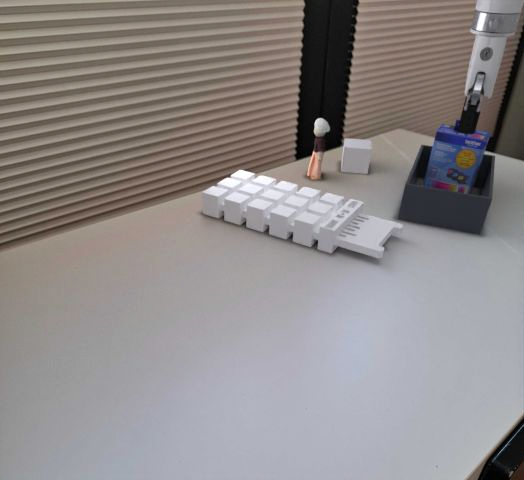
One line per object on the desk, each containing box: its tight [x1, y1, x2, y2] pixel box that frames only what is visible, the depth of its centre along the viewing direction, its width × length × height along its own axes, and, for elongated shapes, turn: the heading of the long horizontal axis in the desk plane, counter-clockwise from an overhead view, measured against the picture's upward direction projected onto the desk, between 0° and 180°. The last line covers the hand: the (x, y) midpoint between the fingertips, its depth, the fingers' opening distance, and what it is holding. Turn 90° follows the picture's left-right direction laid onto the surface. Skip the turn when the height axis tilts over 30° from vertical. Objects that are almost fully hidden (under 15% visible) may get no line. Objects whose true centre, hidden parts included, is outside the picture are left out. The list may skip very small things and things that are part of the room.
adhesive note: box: [340, 137, 373, 175], centre depth 115 cm, size 6×6×6 cm
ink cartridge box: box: [422, 119, 491, 194], centre depth 104 cm, size 10×6×14 cm, turn 61°
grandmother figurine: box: [306, 117, 331, 181], centre depth 108 cm, size 8×4×13 cm, turn 6°
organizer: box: [201, 169, 404, 259], centre depth 93 cm, size 13×5×35 cm
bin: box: [397, 144, 496, 236], centre depth 102 cm, size 23×15×8 cm, turn 159°
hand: (467, 125), depth 100 cm, fingers open, 9 cm apart
